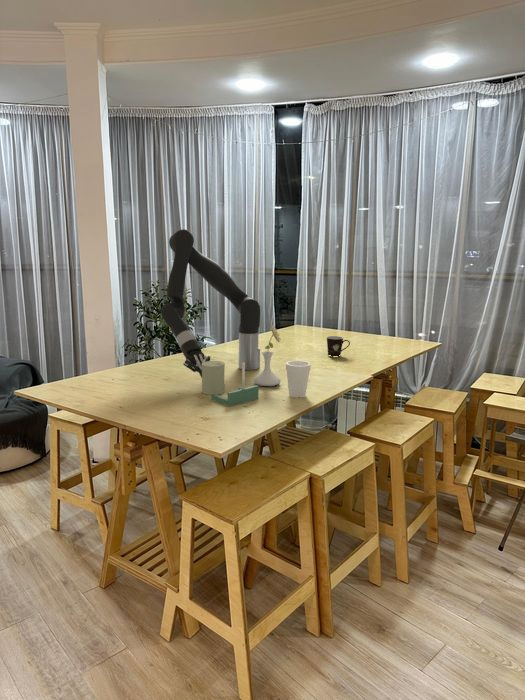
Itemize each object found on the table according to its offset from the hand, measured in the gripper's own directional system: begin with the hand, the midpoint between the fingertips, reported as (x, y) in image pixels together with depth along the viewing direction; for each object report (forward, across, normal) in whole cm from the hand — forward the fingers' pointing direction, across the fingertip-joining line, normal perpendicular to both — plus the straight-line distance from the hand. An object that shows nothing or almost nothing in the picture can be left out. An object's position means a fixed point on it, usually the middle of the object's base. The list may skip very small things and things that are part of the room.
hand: (206, 378), depth 201 cm
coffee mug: (+1, +87, +5) cm, 87 cm away
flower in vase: (+11, +24, -5) cm, 27 cm away
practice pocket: (+16, 0, -10) cm, 18 cm away
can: (+7, 0, 0) cm, 7 cm away
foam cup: (+24, +22, -18) cm, 37 cm away
